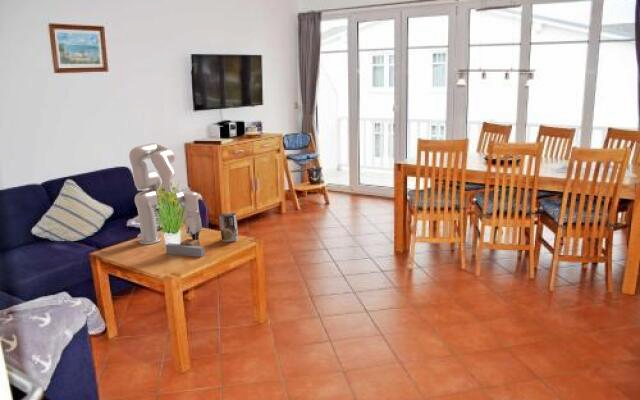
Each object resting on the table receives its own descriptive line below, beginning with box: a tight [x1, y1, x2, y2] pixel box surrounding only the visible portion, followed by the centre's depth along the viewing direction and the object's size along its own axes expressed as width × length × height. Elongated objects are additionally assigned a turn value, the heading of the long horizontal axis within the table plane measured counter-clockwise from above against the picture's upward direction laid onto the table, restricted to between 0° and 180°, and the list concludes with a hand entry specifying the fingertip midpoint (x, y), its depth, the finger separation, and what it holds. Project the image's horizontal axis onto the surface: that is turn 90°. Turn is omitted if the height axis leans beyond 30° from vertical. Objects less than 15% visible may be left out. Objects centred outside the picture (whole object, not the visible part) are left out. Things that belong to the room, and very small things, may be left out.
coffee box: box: [218, 212, 240, 243], centre depth 325 cm, size 9×6×16 cm
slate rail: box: [165, 242, 205, 258], centre depth 306 cm, size 24×3×5 cm, turn 67°
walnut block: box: [179, 238, 201, 246], centre depth 310 cm, size 8×7×6 cm
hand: (196, 243), depth 315 cm, fingers closed
